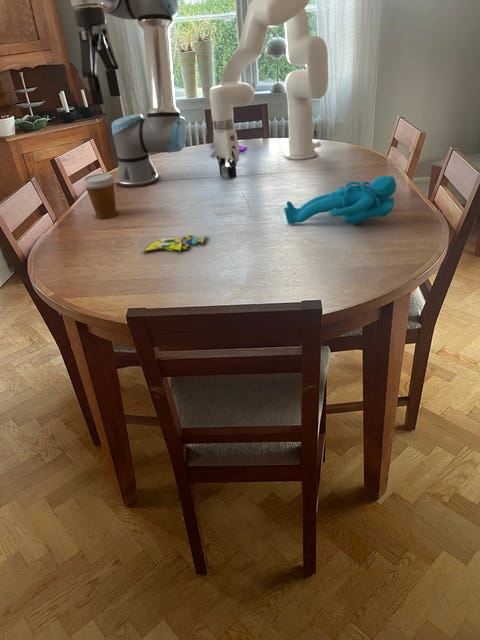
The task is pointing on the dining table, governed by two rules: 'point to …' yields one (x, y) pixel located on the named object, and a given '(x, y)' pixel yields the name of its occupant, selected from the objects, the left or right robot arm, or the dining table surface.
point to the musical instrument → (241, 149)
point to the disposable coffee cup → (101, 194)
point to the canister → (225, 171)
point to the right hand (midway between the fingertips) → (228, 175)
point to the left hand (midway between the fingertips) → (107, 100)
